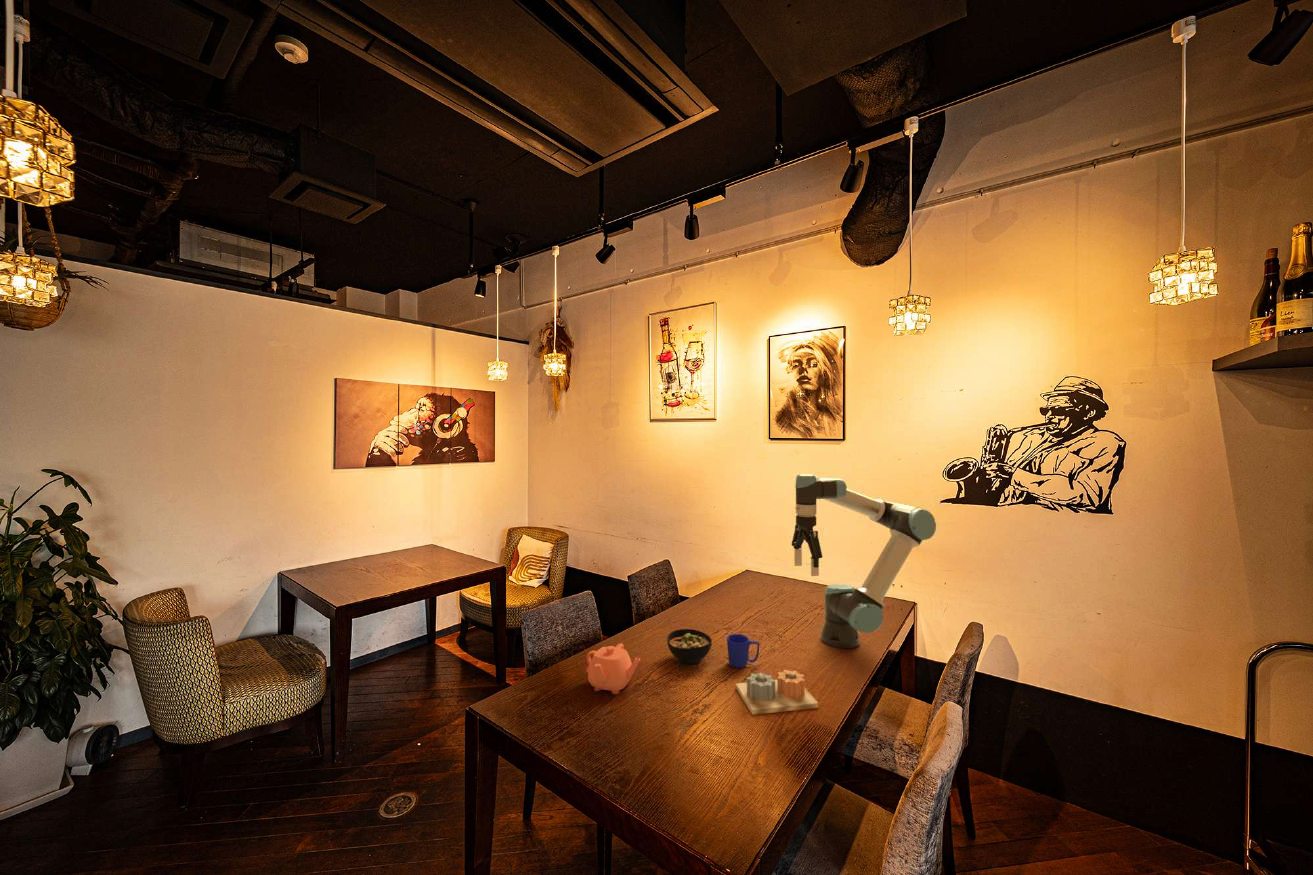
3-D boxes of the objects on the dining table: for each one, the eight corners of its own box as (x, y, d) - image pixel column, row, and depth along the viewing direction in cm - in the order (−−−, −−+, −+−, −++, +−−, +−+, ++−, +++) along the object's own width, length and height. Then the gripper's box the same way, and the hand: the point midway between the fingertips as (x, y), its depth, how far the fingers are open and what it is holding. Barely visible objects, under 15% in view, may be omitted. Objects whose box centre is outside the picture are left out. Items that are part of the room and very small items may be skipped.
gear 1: (761, 684, 166) (761, 669, 166) (781, 696, 159) (781, 681, 159) (741, 692, 161) (741, 677, 161) (760, 705, 154) (760, 689, 154)
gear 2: (797, 683, 167) (797, 668, 167) (810, 697, 158) (810, 681, 158) (772, 685, 165) (772, 670, 165) (783, 699, 157) (783, 684, 157)
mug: (759, 672, 178) (759, 644, 178) (726, 669, 180) (726, 642, 180) (759, 661, 186) (759, 635, 186) (727, 658, 188) (727, 633, 188)
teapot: (642, 690, 166) (641, 651, 166) (596, 704, 157) (595, 663, 157) (621, 670, 180) (621, 634, 180) (578, 682, 171) (578, 644, 171)
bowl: (681, 676, 175) (681, 648, 175) (659, 656, 190) (659, 631, 190) (720, 665, 183) (720, 639, 183) (696, 647, 198) (696, 623, 198)
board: (795, 681, 171) (795, 662, 170) (818, 707, 155) (818, 685, 155) (735, 687, 167) (735, 667, 167) (752, 714, 151) (752, 692, 151)
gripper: (782, 510, 197) (783, 562, 197) (812, 521, 172) (812, 580, 173) (800, 509, 198) (800, 561, 199) (832, 520, 174) (832, 579, 174)
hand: (806, 570), depth 186 cm, fingers open, 13 cm apart
